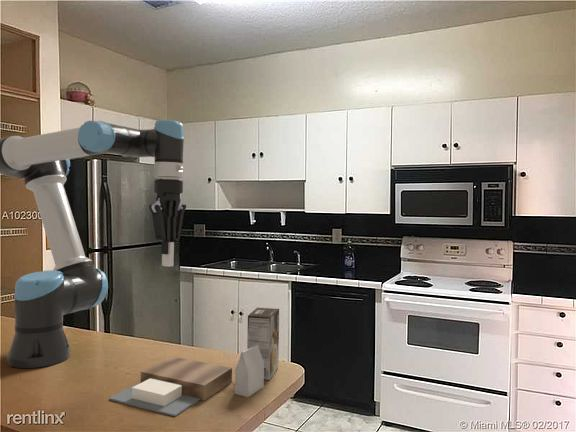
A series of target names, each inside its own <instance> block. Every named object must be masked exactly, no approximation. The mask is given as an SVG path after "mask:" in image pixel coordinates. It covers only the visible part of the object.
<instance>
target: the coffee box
mask: <svg viewBox="0 0 576 432" xmlns="http://www.w3.org/2000/svg"><path fill="white" fill-rule="evenodd" d="M279 334H280V308H271V307H270V308H269V307H267V308H266V307H256V308H255V309H253V311H251V312H250V313H249V314H248V315H247V337H246V338H247V340H246V341H247V349H249V348H251V347H253V346H255V345H258V346H259V350H260V353H261V356H262V358H263V361H264V380H268V381H269V380H271V379H272V378H273V376H274V374H275V373H276V371H277V369H278V368H279V350H280V348H279V343H280V341H279V339H280V337H279V336H280V335H279ZM247 349H246V350H247Z"/></svg>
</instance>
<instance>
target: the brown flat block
mask: <svg viewBox="0 0 576 432" xmlns="http://www.w3.org/2000/svg"><path fill="white" fill-rule="evenodd" d="M150 378H151V379H156V380H160V381H165V382H169V383H174V384H178V385H182V395H187V396H191V397H195V398H200V401H204V402H205V401H206V400H207V399H209V398H211V397H212V396H213V395H215V394H216V393H218V392H219V391H221V390H222V389H224V388H225V387H227V386H228V385H230V384H231V383H233V368H232V367H229V366H224V365H218V364H214V363H209V362H203V361H197V360H193V359H187V358H184V357H183V358H182V357H177V356H171V357H168V358H166V359H164V360H162V361H160V362H158V363H155V364H154V365H152V366H150V367H147V368H145V369H142V370H141V371H140V383H142V382H144V381H146V380H148V379H150ZM229 383H230V384H229Z"/></svg>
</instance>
